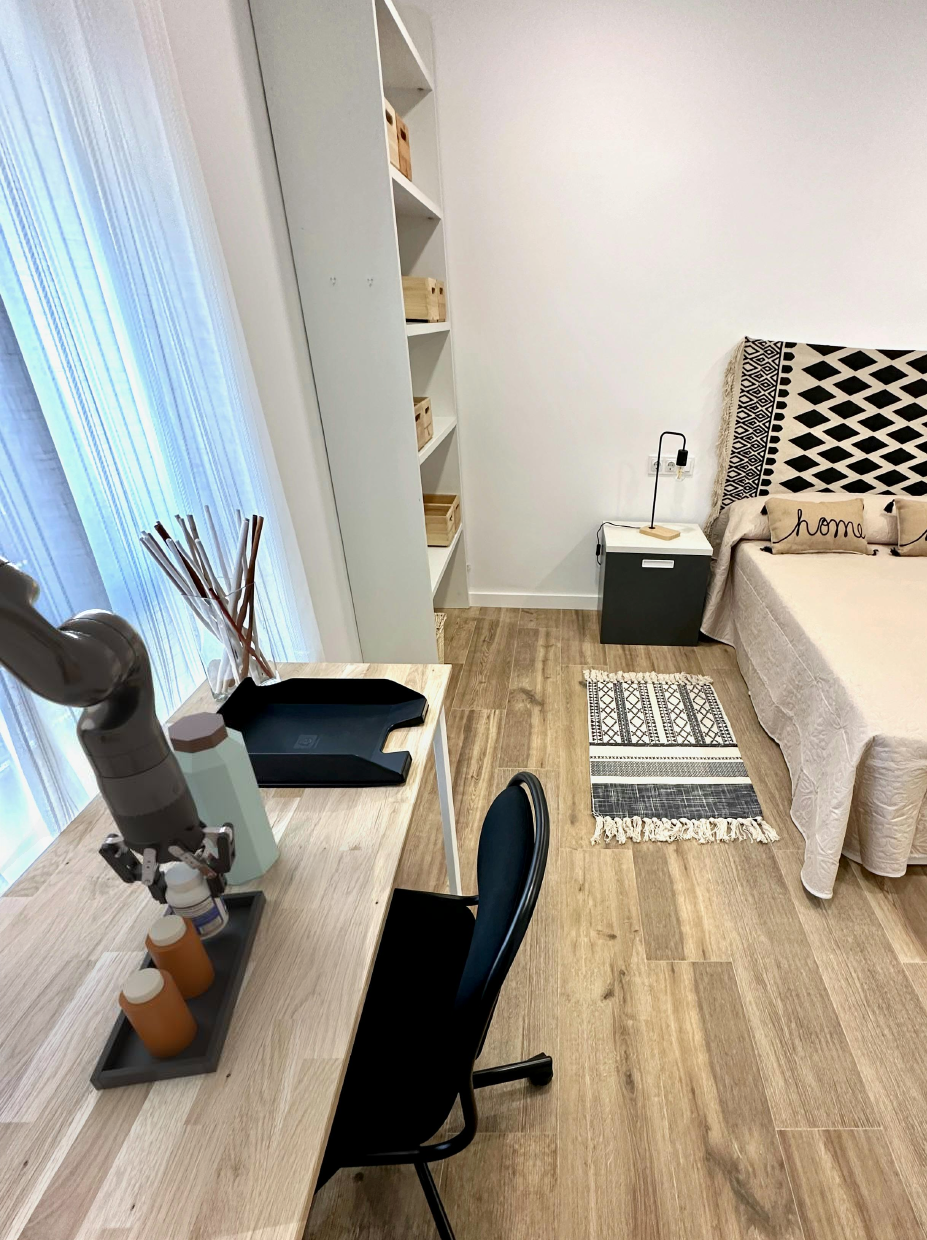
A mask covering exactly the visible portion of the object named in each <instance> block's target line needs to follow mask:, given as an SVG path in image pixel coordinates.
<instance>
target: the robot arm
mask: <svg viewBox="0 0 927 1240" xmlns="http://www.w3.org/2000/svg"><path fill="white" fill-rule="evenodd" d="M40 594H41V587H40V585H39V583H38V582H37V580H35V579H34V578H33V577H32V576H31V575H30V574H29V573H27V572H26V571H24V570H23V569H21V568H20V567H19V566H17V565H15V564H14V563H12V562H11V561H9V560H8V559H6V558H5V557H3V556H1V555H0V666H1V667H2V668H3V669H4V670H6V672H8V673H9V674H10V675H11V676H12V677H13V678H14V679H15V680H16V681H17V682H19V683H20V684H21V685H22V686H24V688H26V689H27V690H29V691H30V693H33V694H34V695H36V696H38V697H40V698H41V699H43V700H45V701H47V702H50V703H53V704H56V705H59V706H63V707H67V708H73V709H74V708H75V709H77V708H78V709H82V711H81V714H80V716H79V718H78V720H77V723H76V729H75V731H76V737H77V741H78V742H79V745H80V747H81V749H82V751H83V753H84V755H85V758H86V759H87V761H88V763H89V765H90V767H91V769H92V772H93V774H94V777H95V780H96V785H97V788H98V790H99V793H100V794H101V797H102V799H103V800H104V803H105V804H106V807H107V808H108V811H109V813H110V815H111V817H112V819H113V821H114V823H115V825H116V827H117V829H118V831H119V833H120V835H119V834H117V833H109V834H108V835H107V836H106V838H105V839H104V841H103V843H102V844H101V846H100V848H99V850H98V854H99V855H100V856H101V857H102V858H103V860H104V861H105V862H106V863H107V864H108V865H109V867H110V868H111V869H112V870H113V871H114V872H115V873H116V875H117V876H118V877H119V878H120V879H121V880H122V882H124V883H125V884H128V885H130V884H133V883H135V882H140V883H141V884H142V885H143V886H146V887H147V889H148V891H149V894H150V895H151V897H152V899H153V900H154V901H156V902H158V904H159V905H168V903H167V900H166V897H165V892H166V889H167V887H168V886H167V884H166V881H165V874H166V871H165V870H161V866H162V865H165V864H169V863H172V862H173V863H179V862H185V863H186V864H187V865H188V866H189V867H190V868H191V869H193V870H195V869H198V870H199V871H200V872H201V873H202V874H203V875H204V876H206V882H207V884H208V887H209V889H210V891H211V894H212V896H213V898H221V896H222V895H223V894H225V892H226V889H227V887H228V884H227V883H228V881H227V879H226V876H225V873H228V872H230V870H231V868H232V865H233V862H234V860H235V857H236V850H235V836H234V825H233V824H232V823H229V822H226V823H224V824H223V825H222V827H207V825H206V824H205V823H204V822H203V821H201V820H200V818H199V816H198V811H197V807H196V805H195V802H194V800H193V797H192V794H191V792H190V789H189V787H188V784H187V782H186V779H185V777H184V774H183V772H182V769H181V767H180V764H179V762H178V760H177V758H176V757H175V755H174V754H173V752H172V750H171V748H170V746H169V744H170V743H169V741H168V739H167V737H166V734H165V732H164V729H163V727H162V724H161V722H160V720H159V717H158V715H157V711H156V696H155V695H156V694H155V686H154V679H153V678H154V677H153V670H152V664H151V660H150V659H151V658H150V655H149V652H148V649H147V646H146V643H145V642H144V639H143V638H142V636H141V635H140V634H139V632H138V630H137V629H136V628H135V627H134V626H133V625H132V624H131V623H130V622H129V621H128V620H126V619H125V618H123V617H122V616H120V615H119V614H116V613H115V612H112V611H109V610H105V609H88V610H83V611H80V612H78V613H75V614H74V615H72V616H71V617H68V618H67V619H66V620H65V621H64V622H62V623H61V624H60V625H59V626H58V627H56V626H54V624H52V623H51V622H50V621H48V620H47V618H45V617H44V616H43V614H42V613H40V612H39V610H38V609H36V607H35V606H36V604H37V603H38V600H39V599H40V596H41V595H40ZM205 838H208V839H210V840H211V842H212V843H213V844H214V845H213V847H215V848H217V849H218V856H217V855H216V854H215V853H214V852H213V851H212V849H211V845H210V844H209V843H208V842H207V841H205V840H204V839H205ZM134 852H135V853H137V854H138V855H140V856H142V862H141V861H140V859H139V858H138V857H137V856H136V854H134ZM207 862H208V863H209V864H208V863H207Z"/></svg>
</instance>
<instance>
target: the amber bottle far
mask: <svg viewBox="0 0 927 1240" xmlns="http://www.w3.org/2000/svg"><path fill="white" fill-rule="evenodd" d="M118 1004H119V1007H120V1008H121V1009H123V1011H124V1013H125V1014H126V1016H127V1018H128V1019H129V1021H130V1022H131V1024H132V1026H133V1027H134V1029H135V1030H136V1032H137V1034H138V1035H139V1037H140V1038H141V1040H142V1042H143V1043H144V1045H145V1047H146V1048H147V1050H148V1051H149V1053H150V1054H151V1055H152V1056H153V1057H155V1058H159V1059H165V1058H169V1057H172V1056H175V1055H177V1054H179V1053H180V1052H182V1051H183V1050H184V1049H186V1048H187V1047H188V1046H189V1045H190V1044H191V1042H192V1041H193V1039H194V1037H195V1035H196V1032H197V1025H196V1022H195V1021H194V1019H193V1017H192V1015H191V1013H190V1011H189V1009H188V1007H187V1005H186V1003H185V1001H184V999H183V998H182V996H181V994H180V992H179V990H178V988H177V986H176V984H175V982H174V980H173V978H172V977H171V975H170V973H169V972H167V971H165V970H162V969H154V968H147V969H143V970H140V971H139V970H138V971H136V972H135V973H133V974H132V975H130V976H129V977H128V978H127V979H126V980H125V982H124V984H123V985H122V989H121V991H120V993H119V995H118Z"/></svg>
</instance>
